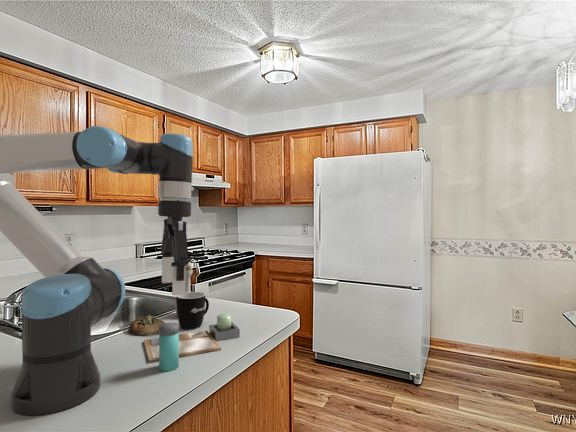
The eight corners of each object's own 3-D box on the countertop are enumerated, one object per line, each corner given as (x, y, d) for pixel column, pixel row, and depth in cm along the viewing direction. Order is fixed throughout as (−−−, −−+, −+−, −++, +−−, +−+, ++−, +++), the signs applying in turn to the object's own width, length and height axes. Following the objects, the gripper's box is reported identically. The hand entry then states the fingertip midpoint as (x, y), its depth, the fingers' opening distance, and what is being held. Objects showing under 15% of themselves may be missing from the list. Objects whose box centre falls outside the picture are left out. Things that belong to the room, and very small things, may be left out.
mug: (189, 333, 108) (189, 300, 108) (170, 327, 113) (170, 295, 112) (217, 322, 118) (217, 292, 118) (198, 317, 123) (198, 288, 122)
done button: (219, 332, 104) (219, 319, 103) (215, 328, 107) (215, 315, 107) (233, 330, 105) (233, 317, 105) (228, 326, 109) (228, 313, 109)
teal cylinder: (160, 373, 82) (160, 330, 82) (157, 365, 86) (157, 324, 86) (180, 369, 84) (180, 327, 84) (177, 361, 88) (177, 321, 88)
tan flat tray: (149, 362, 87) (149, 359, 87) (143, 341, 100) (143, 339, 100) (221, 350, 95) (221, 347, 95) (207, 332, 109) (207, 329, 109)
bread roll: (123, 328, 112) (126, 312, 112) (159, 326, 119) (161, 311, 119) (133, 340, 103) (136, 323, 103) (171, 337, 110) (173, 320, 110)
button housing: (215, 341, 102) (215, 332, 101) (209, 333, 108) (209, 325, 108) (239, 337, 105) (239, 329, 105) (232, 329, 111) (232, 321, 111)
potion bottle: (192, 309, 132) (192, 261, 132) (204, 315, 126) (204, 264, 125) (169, 314, 126) (169, 264, 126) (181, 320, 120) (181, 267, 119)
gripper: (205, 200, 76) (202, 299, 77) (179, 200, 98) (177, 277, 98) (168, 199, 73) (165, 302, 73) (151, 199, 94) (148, 279, 95)
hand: (172, 288), depth 86 cm, fingers open, 13 cm apart
